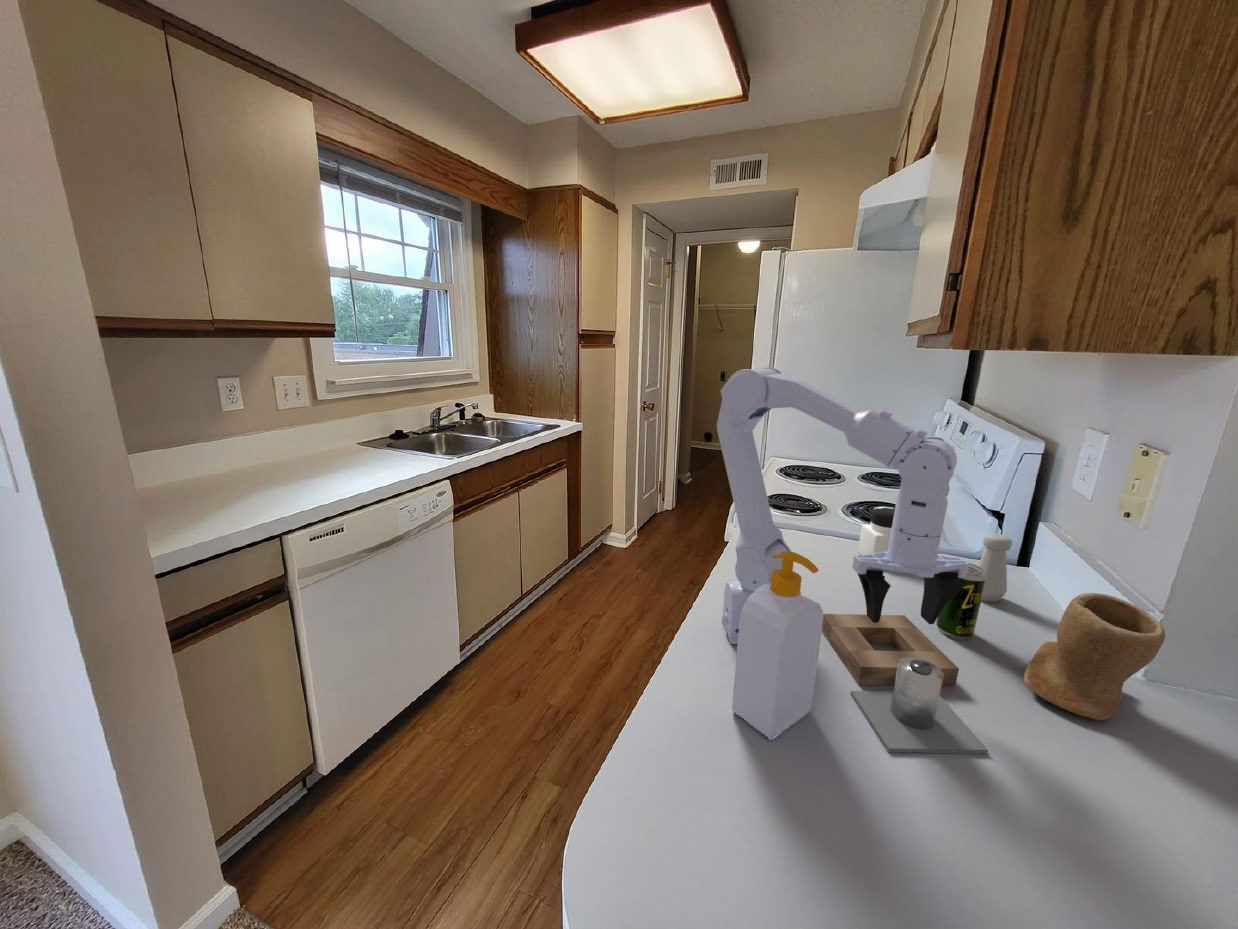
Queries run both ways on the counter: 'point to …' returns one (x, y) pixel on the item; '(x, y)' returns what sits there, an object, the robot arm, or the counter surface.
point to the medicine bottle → (876, 531)
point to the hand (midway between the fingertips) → (899, 619)
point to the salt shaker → (995, 566)
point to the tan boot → (1094, 655)
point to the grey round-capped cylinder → (916, 692)
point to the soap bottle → (777, 651)
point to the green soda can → (963, 606)
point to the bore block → (880, 667)
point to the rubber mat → (902, 738)
